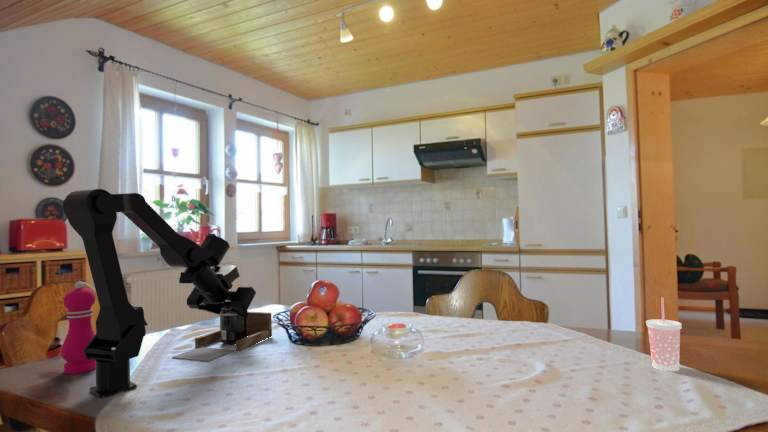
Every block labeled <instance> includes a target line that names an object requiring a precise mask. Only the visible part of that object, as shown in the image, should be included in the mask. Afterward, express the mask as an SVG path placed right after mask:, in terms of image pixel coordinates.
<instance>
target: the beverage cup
mask: <svg viewBox="0 0 768 432" xmlns="http://www.w3.org/2000/svg"><path fill="white" fill-rule="evenodd" d="M660 301H661V302H660V304H661V305H660V306H661V308H660V309H661V318H660V319H659V318H657V319H656V318H655V319H654V318H653V319H648V320H647V319H646V320H645V324H646V327H647V330H648V331H647V332H648V342H649V347H650V355H651V356H650V358H651V364H652V365H651V367H652V368H655V369H656V370H658V371H659V370H660V371H665V372H677V371H680V351H681V349H680V347H681V330H682V323H681V322H679V321H677V320H670V319H665V317H666V316H665V299H664V297H663V296H662V297H660Z"/></svg>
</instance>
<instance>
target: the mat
mask: <svg viewBox="0 0 768 432" xmlns="http://www.w3.org/2000/svg"><path fill="white" fill-rule="evenodd" d="M234 351H235V349H228V348H217V347H207V346H206V347H205V346H203V347H198V348H194V349H190V350H188V351H185V352H182V353H180V354H177V355H174V356H172V357H171V358H172V359H175V360H176V359H177V360H185V361H186V360H187V361H197V362H206V363H208V362H211V361H214V360H216V359H218V358H220V357H223V356H225V355H228V354H230V353H233V352H234Z"/></svg>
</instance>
